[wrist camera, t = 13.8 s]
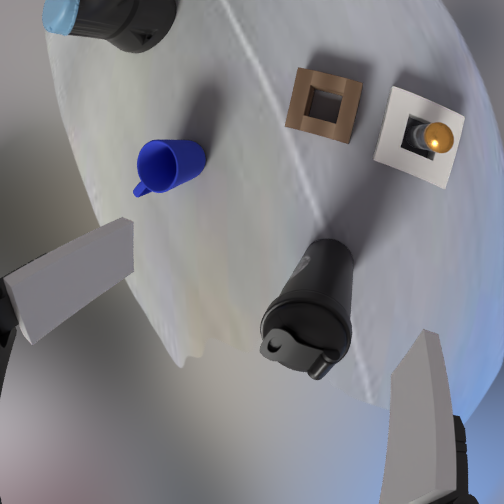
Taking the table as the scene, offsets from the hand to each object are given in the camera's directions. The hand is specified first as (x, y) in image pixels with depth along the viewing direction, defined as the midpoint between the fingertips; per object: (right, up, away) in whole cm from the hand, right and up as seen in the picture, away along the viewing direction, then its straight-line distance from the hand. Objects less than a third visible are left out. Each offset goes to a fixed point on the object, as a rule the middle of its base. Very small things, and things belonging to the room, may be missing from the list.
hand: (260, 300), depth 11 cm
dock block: (+23, +19, +23) cm, 37 cm away
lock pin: (+23, +19, +23) cm, 37 cm away
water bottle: (+12, 0, +36) cm, 38 cm away
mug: (-12, +18, +38) cm, 44 cm away
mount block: (+11, +23, +26) cm, 36 cm away
